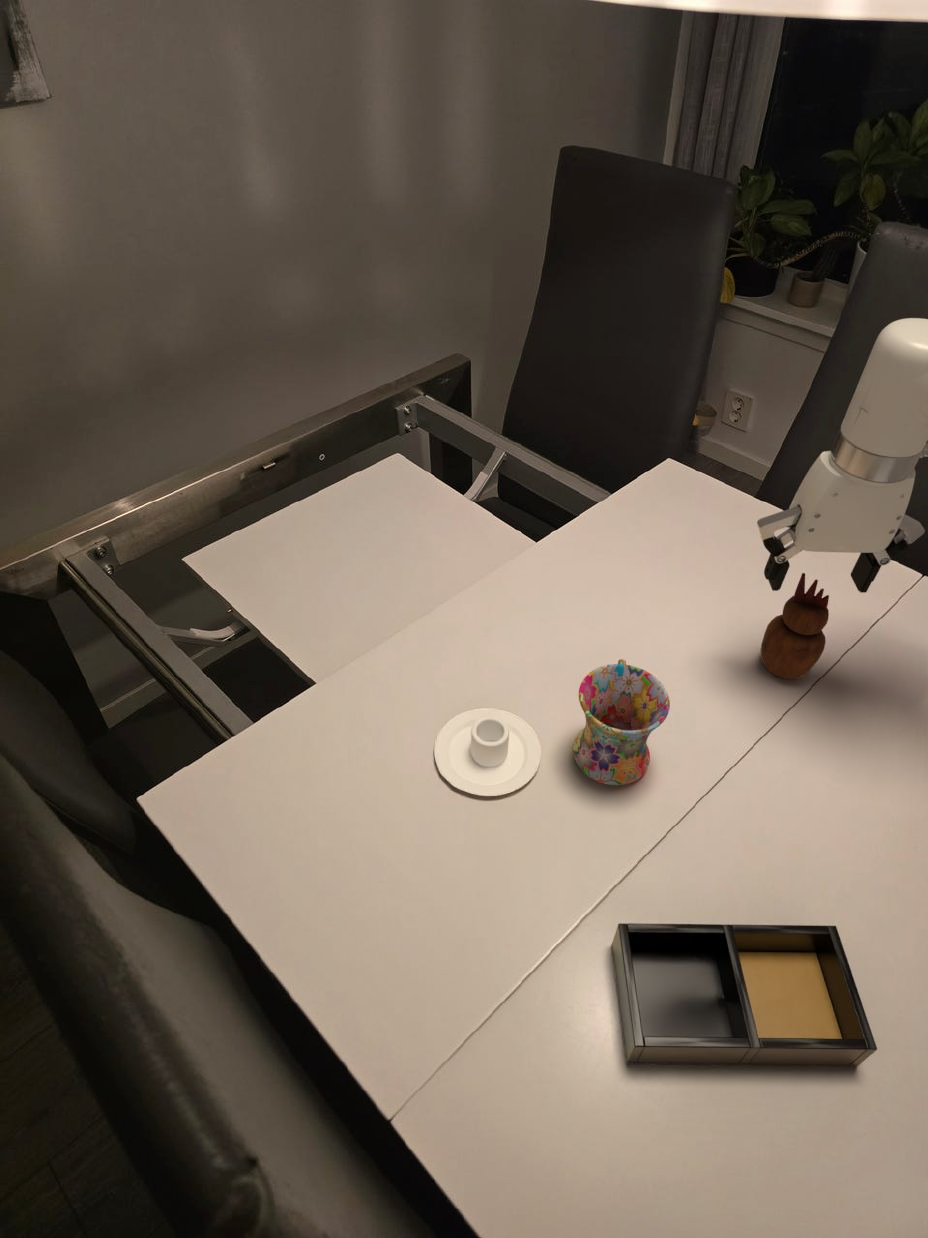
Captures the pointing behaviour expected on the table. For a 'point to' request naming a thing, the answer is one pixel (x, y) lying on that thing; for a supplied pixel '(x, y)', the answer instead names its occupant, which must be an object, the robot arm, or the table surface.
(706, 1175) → the table surface
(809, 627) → the wooden figurine
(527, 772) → the candle holder
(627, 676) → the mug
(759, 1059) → the divided tray
